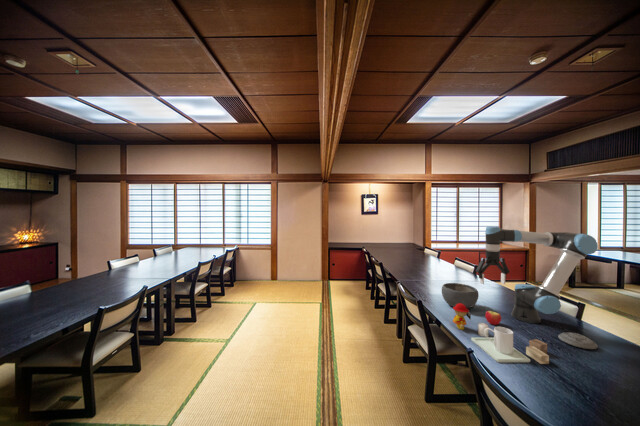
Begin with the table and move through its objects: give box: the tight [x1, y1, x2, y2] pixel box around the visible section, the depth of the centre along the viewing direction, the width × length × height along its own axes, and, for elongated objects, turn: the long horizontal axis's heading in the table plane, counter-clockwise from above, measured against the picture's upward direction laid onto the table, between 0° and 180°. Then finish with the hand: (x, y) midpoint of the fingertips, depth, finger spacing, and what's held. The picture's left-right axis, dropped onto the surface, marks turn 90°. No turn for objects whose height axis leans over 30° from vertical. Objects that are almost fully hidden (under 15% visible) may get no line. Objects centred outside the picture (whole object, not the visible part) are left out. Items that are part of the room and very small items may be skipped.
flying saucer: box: [557, 331, 598, 350], centre depth 133 cm, size 15×15×6 cm
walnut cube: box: [528, 338, 548, 355], centre depth 125 cm, size 5×5×5 cm
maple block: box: [525, 346, 550, 365], centre depth 119 cm, size 4×8×4 cm, turn 1°
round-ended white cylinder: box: [477, 322, 489, 338], centre depth 142 cm, size 5×5×6 cm
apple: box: [484, 308, 502, 326], centre depth 156 cm, size 8×8×10 cm
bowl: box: [441, 282, 480, 309], centre depth 185 cm, size 24×24×15 cm
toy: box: [452, 303, 472, 331], centre depth 151 cm, size 11×9×15 cm
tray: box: [470, 337, 531, 363], centre depth 126 cm, size 16×20×2 cm
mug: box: [484, 326, 514, 354], centre depth 126 cm, size 12×8×10 cm, turn 60°
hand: (492, 283), depth 154 cm, fingers open, 13 cm apart
